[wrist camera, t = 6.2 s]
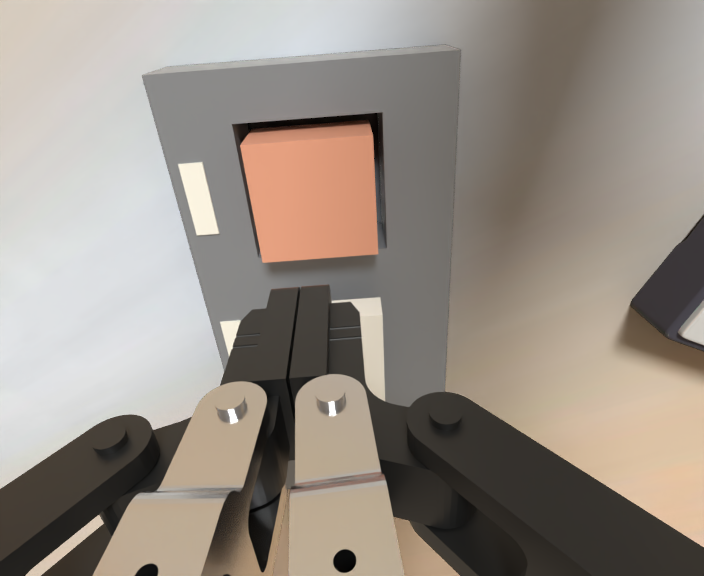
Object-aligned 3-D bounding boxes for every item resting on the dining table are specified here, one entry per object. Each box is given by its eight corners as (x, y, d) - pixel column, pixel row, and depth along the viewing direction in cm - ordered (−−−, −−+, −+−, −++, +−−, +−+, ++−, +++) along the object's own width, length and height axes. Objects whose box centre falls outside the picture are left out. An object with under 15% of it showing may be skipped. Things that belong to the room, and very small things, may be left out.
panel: (166, 66, 20) (135, 77, 17) (444, 44, 20) (464, 51, 17) (263, 453, 33) (256, 499, 30) (432, 441, 33) (442, 486, 30)
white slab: (270, 305, 21) (267, 325, 20) (380, 297, 21) (382, 316, 20) (293, 399, 26) (291, 419, 24) (383, 393, 25) (385, 413, 24)
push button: (252, 128, 20) (240, 145, 17) (368, 119, 20) (373, 135, 17) (270, 235, 22) (262, 262, 20) (374, 227, 22) (378, 254, 20)
